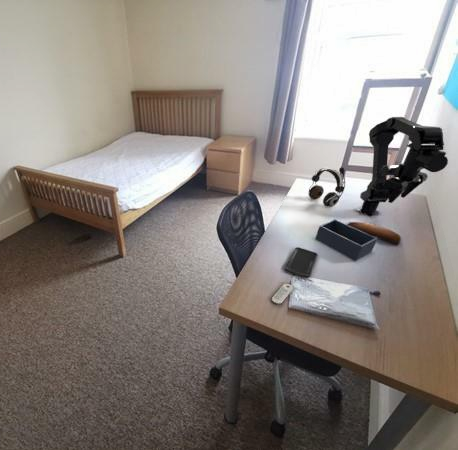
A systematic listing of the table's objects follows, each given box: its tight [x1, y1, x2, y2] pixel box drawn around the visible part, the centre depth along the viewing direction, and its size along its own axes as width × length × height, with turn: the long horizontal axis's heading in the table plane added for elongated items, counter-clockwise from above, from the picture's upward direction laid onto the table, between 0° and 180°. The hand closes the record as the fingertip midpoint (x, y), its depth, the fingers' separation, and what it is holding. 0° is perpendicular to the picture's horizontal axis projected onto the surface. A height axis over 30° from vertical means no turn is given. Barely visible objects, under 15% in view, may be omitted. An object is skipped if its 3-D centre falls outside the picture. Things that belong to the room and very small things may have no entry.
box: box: [315, 218, 379, 262], centre depth 106 cm, size 10×16×6 cm, turn 28°
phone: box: [284, 246, 319, 279], centre depth 100 cm, size 8×1×15 cm
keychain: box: [271, 283, 294, 305], centre depth 88 cm, size 10×1×3 cm
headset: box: [308, 166, 346, 208], centre depth 133 cm, size 17×8×20 cm, turn 20°
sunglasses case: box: [347, 221, 401, 245], centre depth 113 cm, size 18×7×7 cm
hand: (396, 199), depth 111 cm, fingers open, 8 cm apart
